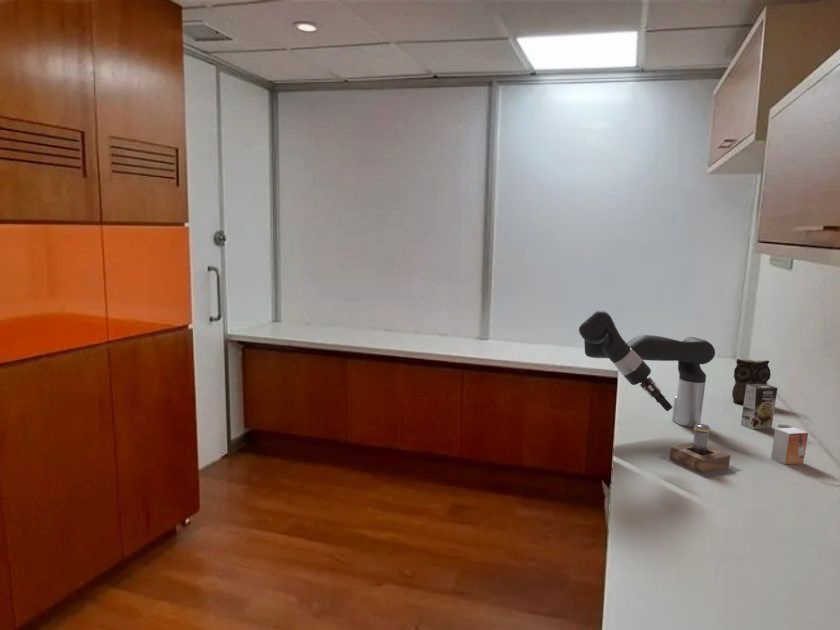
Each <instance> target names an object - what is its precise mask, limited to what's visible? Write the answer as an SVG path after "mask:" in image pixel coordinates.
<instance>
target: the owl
mask: <svg viewBox="0 0 840 630" xmlns="http://www.w3.org/2000/svg"><path fill="white" fill-rule="evenodd" d="M735 361H736V362H735V363H736V366H735V368H734V370H733V378H734V386H733V388H732V391H731V392H732V393H731V395H732V399H733V404H736V405H741V406H743V405H744V398H745V391H746V384H766V385H768V383H767V382H768V381H769V380H770V379H771V369H770V366H769V363H770V360H761V359H740V358H737V359H736V360H735Z"/></svg>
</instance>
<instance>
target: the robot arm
mask: <svg viewBox="0 0 840 630" xmlns="http://www.w3.org/2000/svg"><path fill="white" fill-rule="evenodd" d="M578 332H579V334H580V336H581V337H582V339H583V340H584V342H583V343H584V355H585V356H586V357H588V358H595V359H609V360H610V361H611V362H612V363H613V365H614V366H615V368H616V369H617V370H618V372H620V374H621V375H622V376H623V378H625V379H626V381H627V382H628V383H630V384H631V385H632V386H635V385H636V386H637V385H638V384H639V387H641V388H642V390H643V391H644V392H647V394H648V395H649V396H650V398H653V399H655V401H656V402H657V403H658V404H660V405H661V407H662V408H663V409H664V410H665V411H666V412H669V411H670V410H672V409H673V410H672V416H671V420H672V421H673V422H674V423H676V424H677V425H679V426H684V427H689V428H694V426H695V424H702V423H701V422H702V414H703V405H704V398H705V390H706V389H705V387H706V382H707V381H706V380H707V374H706V373H705V372H704V370H702V368H701V365H705V364H708V363H710V362H711V361H712V360H713V359H714V357H715V355H716V349H715V347H714V345H713V344H712V343H710V342H709V341H707V340H705V339H701V338H697V337H695V336H688V337H685V338H684V339H683V340H682V341H681V340H677V339H673V338H669V337H666V336H665V337H664V336H659V335H651V334H641V335H637V336H635V337H633V338H632V339H631V340H629V341H628V342H626V341H625V339H623V337H622V336H621V334H620V332H619V331H618V329H617V326H616V324H615V322H614V320H613V318H612V317H611V315H610V314H609V313H608V312H607V311H605V310H596V311H595V312H593V314H592V315H591V316H589V317H588V318H587V319H586V320H585V321H583V322H582V323H581V325H579V327H578ZM645 361H653V362H654V361H657V362H662V361H663V362H666V361H667V362H672V361H674V362H675V361H676V362H677V363H678V364H677V371H678V374H679V376H678V385H677V393H676V396H674V400H673V405H672V404H671V403H670V402H669V401H668V400H667V398H666V397H665V395H663V394H662V393H661V392H662V391H661V389H660V388H659V387H658V385H656V382H655V381H654V380H653V379H652V377H650V375H651V372H652V369H651V368H650V367H649V365H647V363H646V362H645Z"/></svg>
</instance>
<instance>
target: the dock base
mask: <svg viewBox="0 0 840 630" xmlns="http://www.w3.org/2000/svg"><path fill="white" fill-rule="evenodd" d="M657 457H659V458H660V459H662V460H664V461H667V462H670V463H671V464H673V465H675V466H678V467H681V468H682V469H685V470H686V471H689V472H691V473H693V474H696V475H698V476H700V477H702V478H705V479H711V478H716V477H719V476H723V475H727V474H733V473H737V472H742V469H741V468H740V469H739V468H737V467H735V466H732V465H730V464H729V468H724V469H720V470H715V471H711V472H706V473H700V472H698V471H696V470H694V469H691V468H689V467H687V466H685V465H683V464H680V463H678V462H676V461H674V460H671V459H669V458H670V453H667V454H661V455H657Z"/></svg>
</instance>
